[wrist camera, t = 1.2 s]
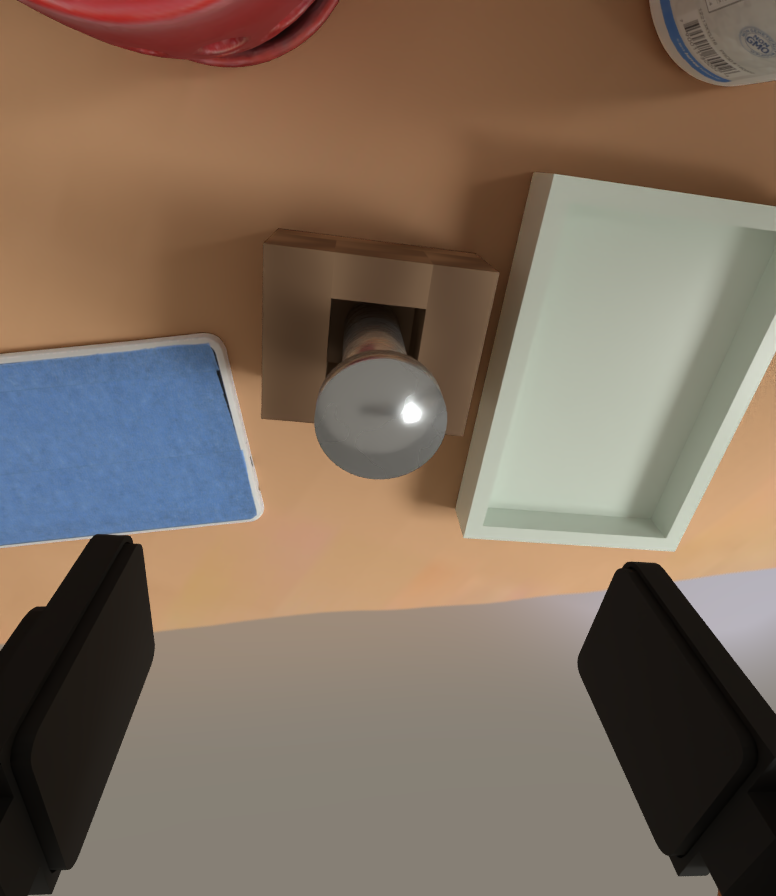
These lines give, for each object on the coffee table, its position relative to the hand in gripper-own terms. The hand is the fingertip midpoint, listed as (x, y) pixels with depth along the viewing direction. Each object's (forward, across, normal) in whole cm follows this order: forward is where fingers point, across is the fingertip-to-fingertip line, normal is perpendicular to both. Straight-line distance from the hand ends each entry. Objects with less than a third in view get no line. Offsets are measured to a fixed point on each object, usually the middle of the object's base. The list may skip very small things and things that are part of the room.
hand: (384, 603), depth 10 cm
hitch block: (+20, -1, 0) cm, 20 cm away
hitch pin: (+19, -1, 0) cm, 19 cm away
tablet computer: (+22, +15, +10) cm, 28 cm away
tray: (+20, -15, +2) cm, 25 cm away
